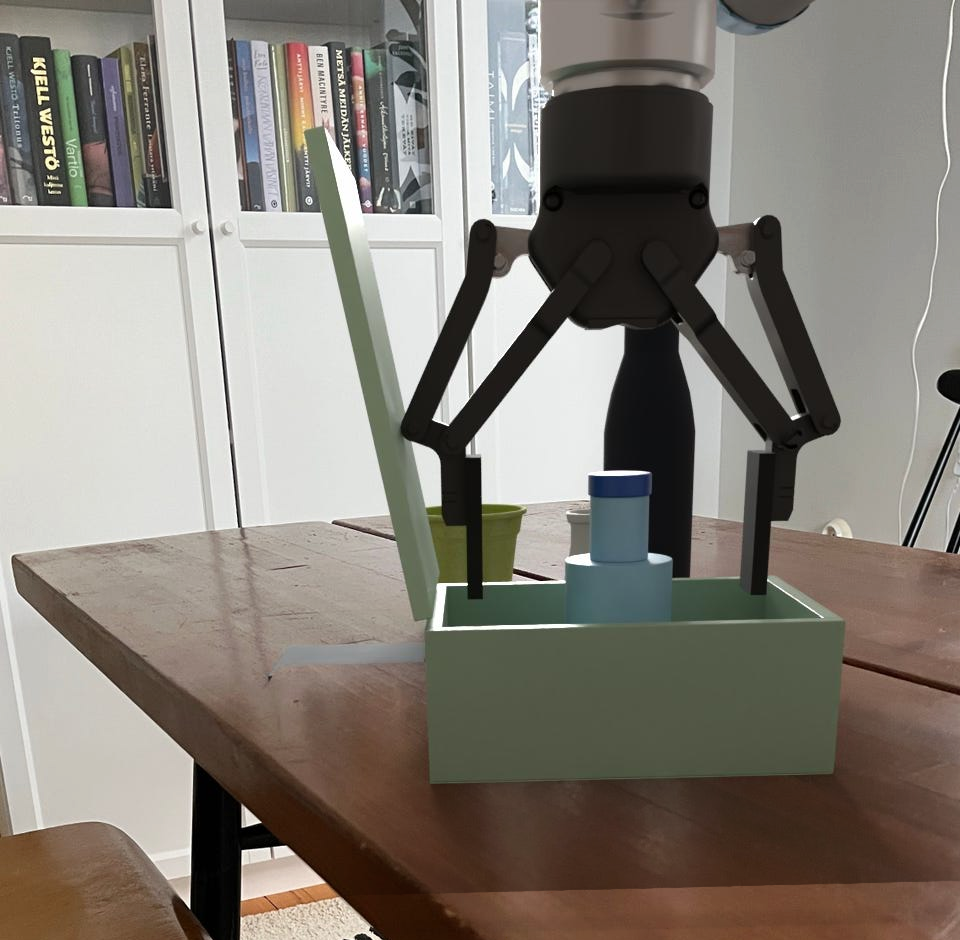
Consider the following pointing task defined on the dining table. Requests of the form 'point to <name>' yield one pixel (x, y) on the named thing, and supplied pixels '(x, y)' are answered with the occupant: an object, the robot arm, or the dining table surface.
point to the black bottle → (656, 436)
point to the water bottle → (618, 557)
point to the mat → (351, 654)
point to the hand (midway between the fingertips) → (613, 593)
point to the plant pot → (496, 543)
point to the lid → (375, 368)
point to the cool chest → (631, 686)
